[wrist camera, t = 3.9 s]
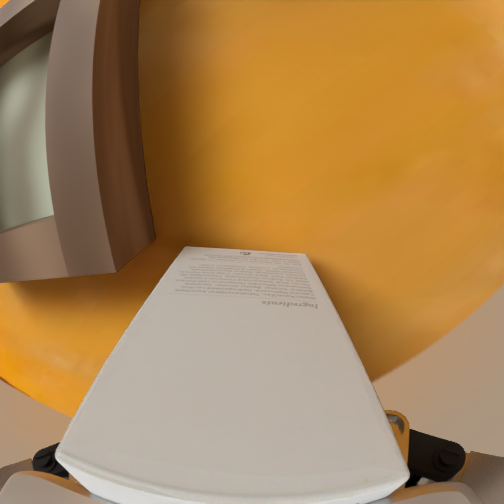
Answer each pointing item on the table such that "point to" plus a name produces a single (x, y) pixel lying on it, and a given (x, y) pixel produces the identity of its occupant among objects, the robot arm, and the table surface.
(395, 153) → the table surface
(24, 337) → the table surface
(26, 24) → the well block
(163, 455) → the small box
